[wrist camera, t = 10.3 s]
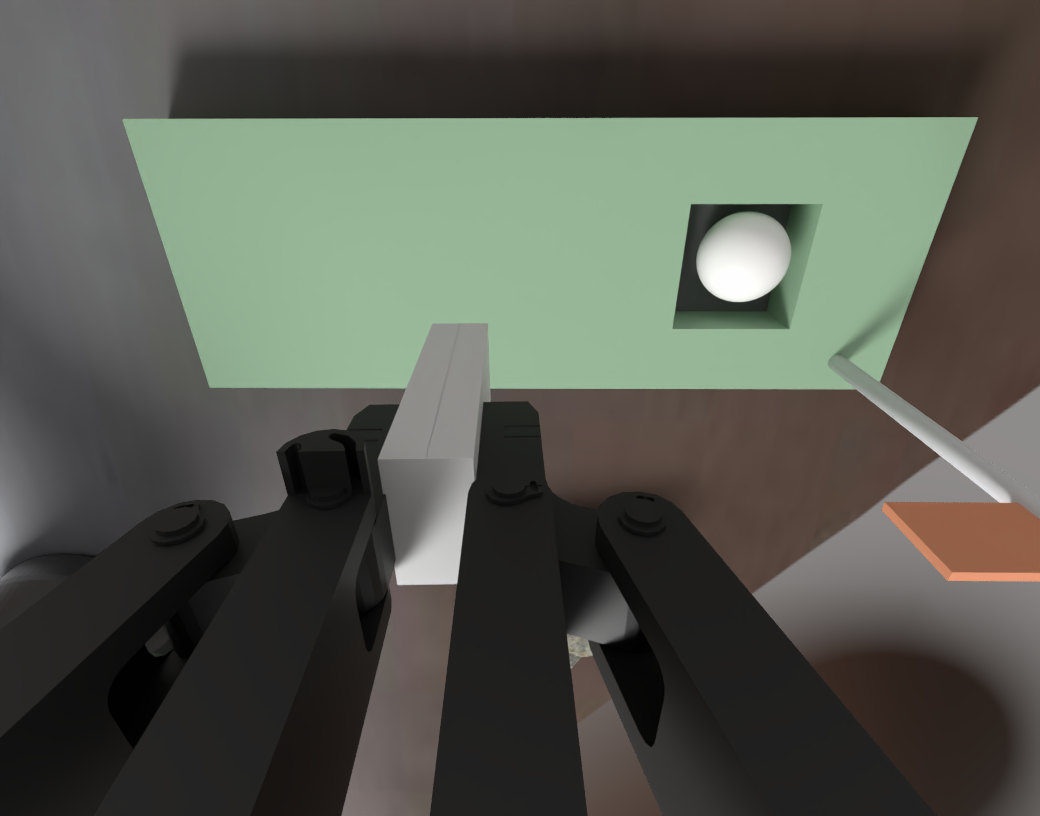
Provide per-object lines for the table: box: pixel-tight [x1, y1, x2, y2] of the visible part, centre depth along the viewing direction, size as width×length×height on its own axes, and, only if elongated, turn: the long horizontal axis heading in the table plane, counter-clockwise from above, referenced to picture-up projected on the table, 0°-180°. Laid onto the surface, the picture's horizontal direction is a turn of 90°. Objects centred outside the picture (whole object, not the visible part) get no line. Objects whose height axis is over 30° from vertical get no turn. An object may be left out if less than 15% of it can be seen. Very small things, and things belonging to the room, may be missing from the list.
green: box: [122, 117, 1040, 581], centre depth 18 cm, size 34×12×17 cm, turn 90°
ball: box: [696, 211, 791, 302], centre depth 24 cm, size 4×4×4 cm
